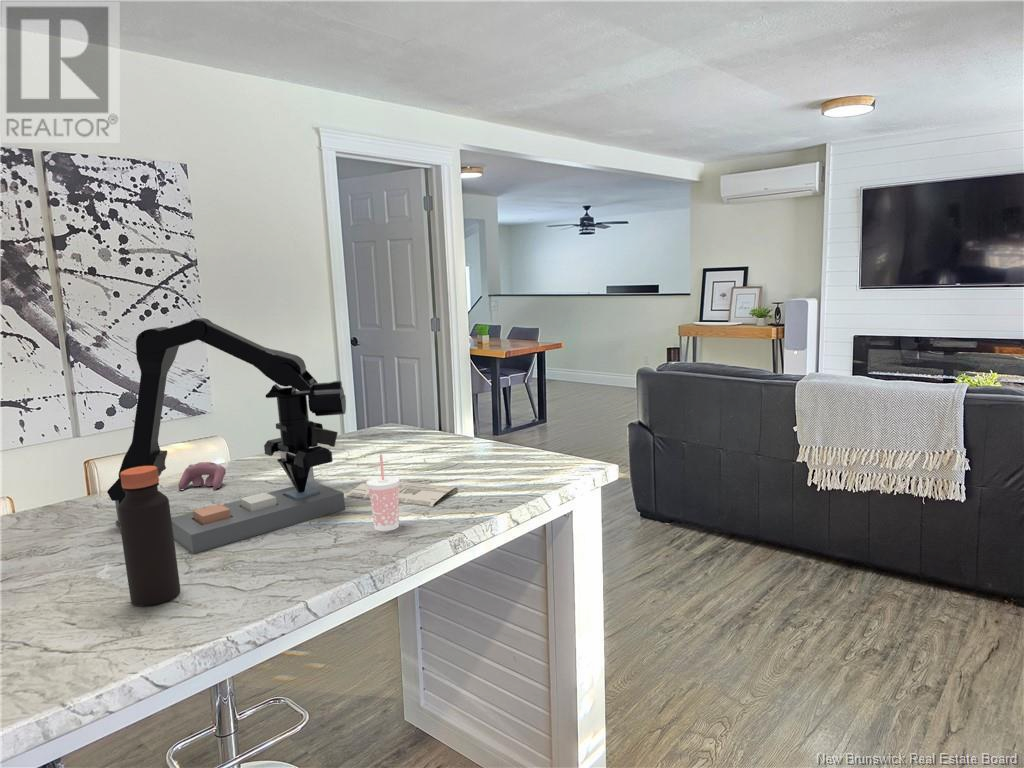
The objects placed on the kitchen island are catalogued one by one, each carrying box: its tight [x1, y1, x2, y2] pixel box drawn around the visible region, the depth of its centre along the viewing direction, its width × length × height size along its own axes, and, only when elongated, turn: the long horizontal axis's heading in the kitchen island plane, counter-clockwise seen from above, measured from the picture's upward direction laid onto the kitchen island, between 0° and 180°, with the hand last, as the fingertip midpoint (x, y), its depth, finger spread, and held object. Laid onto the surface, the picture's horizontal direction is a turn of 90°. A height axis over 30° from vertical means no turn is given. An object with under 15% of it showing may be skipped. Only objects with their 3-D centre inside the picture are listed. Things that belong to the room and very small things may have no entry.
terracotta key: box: [192, 503, 231, 525], centre depth 130 cm, size 5×5×3 cm
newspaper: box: [345, 477, 458, 508], centre depth 151 cm, size 23×12×2 cm, turn 65°
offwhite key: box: [240, 491, 277, 512], centre depth 136 cm, size 5×5×3 cm
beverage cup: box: [366, 454, 400, 532], centre depth 130 cm, size 6×6×14 cm
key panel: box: [171, 480, 346, 555], centre depth 137 cm, size 30×13×4 cm, turn 133°
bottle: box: [118, 466, 181, 607], centre depth 104 cm, size 7×7×20 cm
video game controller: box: [178, 461, 227, 491], centre depth 163 cm, size 10×5×7 cm, turn 85°
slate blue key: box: [285, 487, 319, 500], centre depth 142 cm, size 5×5×3 cm
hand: (301, 492), depth 142 cm, fingers closed, pressing on slate blue key
